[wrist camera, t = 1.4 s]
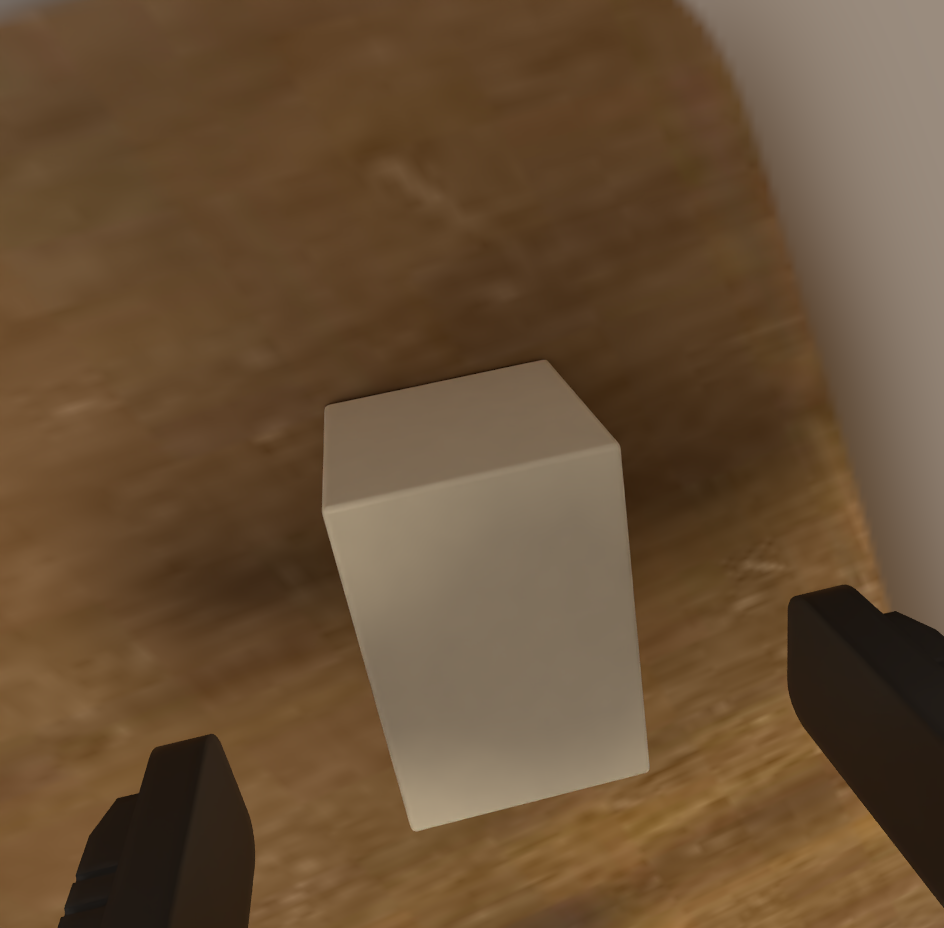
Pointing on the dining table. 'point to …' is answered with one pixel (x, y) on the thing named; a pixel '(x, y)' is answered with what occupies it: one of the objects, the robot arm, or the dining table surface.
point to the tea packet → (488, 588)
